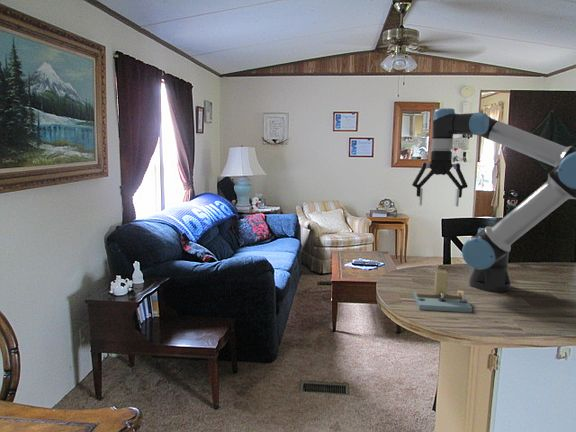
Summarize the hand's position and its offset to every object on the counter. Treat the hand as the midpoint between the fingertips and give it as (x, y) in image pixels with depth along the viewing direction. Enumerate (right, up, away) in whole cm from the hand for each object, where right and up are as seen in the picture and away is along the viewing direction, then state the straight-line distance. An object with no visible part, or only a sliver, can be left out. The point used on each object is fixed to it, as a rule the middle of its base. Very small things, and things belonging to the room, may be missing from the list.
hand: (438, 205), depth 177 cm
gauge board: (-5, -35, -18) cm, 39 cm away
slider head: (-5, -33, -17) cm, 37 cm away
